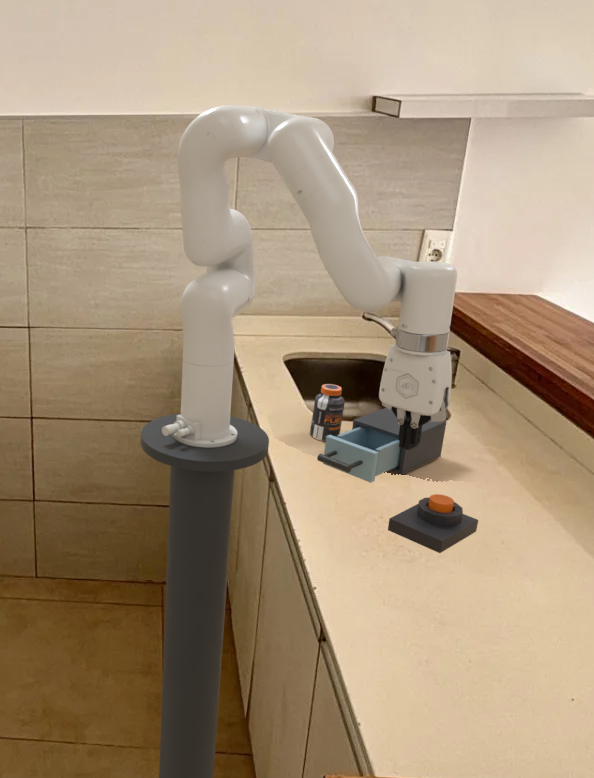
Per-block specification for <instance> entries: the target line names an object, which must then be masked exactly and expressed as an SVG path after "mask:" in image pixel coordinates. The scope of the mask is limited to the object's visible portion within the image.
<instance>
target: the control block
mask: <svg viewBox="0 0 594 778" xmlns="http://www.w3.org/2000/svg"><path fill="white" fill-rule="evenodd" d="M429 499H430V496H429V497H423V498H421V499H420V500H418V503H417V504H415V505H413V506H411V507H409V508H407V509H405V510H402V511H401V512H399V513H398V514H395V515H393V516H392V517H390V518H389V519H388V525H387V526H388V527H387V531H389V532H391V533H393V534H396V535H398V536H400V537H401V538H404V539H406V540H409V541H411V542H413V543H416V544H418V545H420V546H423V547H425V548H426V549H429V550H431V551H434V552H435V553H439V554H442V553H443V552H445V551H447V550H448V549H449V548H452V547H453V546H455V545H456V544H458V543H459V542H461V541H463V540H464V539H466V538H469V537H470V536H471V535H473V534H475V533H476V532H477V530H478V529H477V528H478V525H479V519H477V518H474V517H472V516H470V515H467V514H464V511H463V507H462V506H461V505H460V504H458V503H457V502H456V501H454V505H453V510H452V512H451V513H442V512H437V511H434V510H432V509H430V508H429V507H428V504H429Z"/></svg>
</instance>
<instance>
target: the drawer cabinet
mask: <svg viewBox="0 0 594 778" xmlns="http://www.w3.org/2000/svg"><path fill="white" fill-rule="evenodd" d="M413 413H414V412H413ZM447 423H448V422H447V420H444V421H442V422H431V421H429V422H427V423H426V424H424V425H422V431H421V439H420V443H419V444H418V445H417V446H416V447H414V448H412V449H410V450H406V449H405V448H402V453H401V459H400V465H399V466H397V467H395V468H393V469H391V470H389V471H391V472H393V473H396V474H399V475H401V476H402V475H405V474H408V473H409V472H411V471H414V470H416V469H417V468H418V469H419V467H422V466H424V465H426V464H428V463H431V462H433V461H435V460H437V459H439V458H441V456H442V452H443V451H442V450H443V446H444V439H445V433H446V427H447ZM360 426H362V427H365V428H368V429H371V430H374V431H377V432H380V433H383V434H386V435H389V436H392V437H395V438H397V439H398V438H399V429H400V424H398V422H397V417H396V416H395V414H394V413H393V411H392V410H390V409H388V408H386V407H384V408H381V409H378V410H376V411H373V412H371V413H367V414H365V415H363V416H360V417H357V418H354V419H353V420H352V429H355V428H357V427H360ZM352 429H351V430H352Z"/></svg>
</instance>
